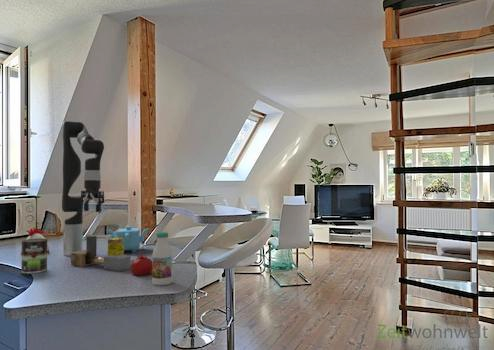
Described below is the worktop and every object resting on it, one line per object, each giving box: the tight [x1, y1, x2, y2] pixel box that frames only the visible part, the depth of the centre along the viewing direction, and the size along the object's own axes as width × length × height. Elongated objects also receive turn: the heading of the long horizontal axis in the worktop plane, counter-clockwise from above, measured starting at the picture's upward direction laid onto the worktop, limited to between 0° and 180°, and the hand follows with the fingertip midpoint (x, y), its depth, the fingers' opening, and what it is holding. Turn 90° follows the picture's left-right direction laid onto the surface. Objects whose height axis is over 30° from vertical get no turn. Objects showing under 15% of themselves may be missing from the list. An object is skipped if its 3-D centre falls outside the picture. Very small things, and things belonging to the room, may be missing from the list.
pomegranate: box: [129, 252, 152, 276], centre depth 156 cm, size 10×10×9 cm
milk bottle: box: [151, 231, 173, 286], centre depth 141 cm, size 8×8×20 cm
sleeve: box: [103, 254, 132, 272], centre depth 166 cm, size 11×6×6 cm, turn 63°
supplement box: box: [107, 238, 125, 256], centre depth 187 cm, size 6×6×11 cm
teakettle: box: [106, 225, 150, 253], centre depth 210 cm, size 19×19×15 cm
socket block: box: [70, 249, 95, 268], centre depth 176 cm, size 8×8×6 cm
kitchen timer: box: [20, 227, 50, 255], centre depth 204 cm, size 14×14×15 cm
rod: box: [85, 235, 104, 266], centre depth 171 cm, size 21×3×13 cm, turn 63°
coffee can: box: [20, 238, 49, 275], centre depth 163 cm, size 10×10×14 cm
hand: (92, 211), depth 178 cm, fingers open, 8 cm apart
